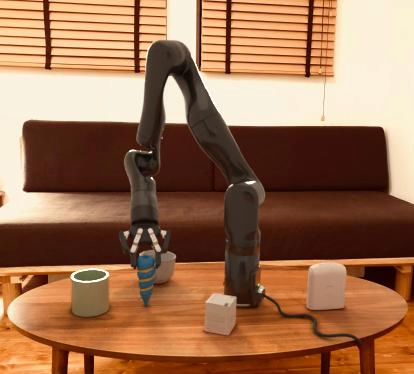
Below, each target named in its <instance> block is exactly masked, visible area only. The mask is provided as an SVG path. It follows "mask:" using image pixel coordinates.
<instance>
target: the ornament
mask: <svg viewBox="0 0 414 374" xmlns="http://www.w3.org/2000/svg"><path fill="white" fill-rule="evenodd" d="M136 270H137V271H136V275H137V278H138V286H139V296H140V297H141V301H142V302H143V305H144V307H148V306H149V303H150V299H151V297H152V294H153V292H154V284H155V283H154V281H155V272H156V268H155V259H154V257H152V256H149V255H147V253H144V255H142V256H138V257H137V258H136Z"/></svg>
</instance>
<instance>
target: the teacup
mask: <svg viewBox="0 0 414 374" xmlns="http://www.w3.org/2000/svg"><path fill="white" fill-rule="evenodd" d="M144 253H147V255H149V256H152V257H154V259H155V252H154V250H153V249H149V250H144V251H142V252H140V253H139V256H138V257H140V256H142V255H144ZM176 258H177V255H176V254H175V253H173V252H171V251H168V250H167V253H166V254H164V253H163V254H161V266H159V267H158V269H156V272H155V281H154V283H153V284H164V283H166V282H168V281H169V280H170V279H172V277H173V276H174V274H175V268H176V260H177V259H176Z"/></svg>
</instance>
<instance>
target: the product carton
mask: <svg viewBox="0 0 414 374" xmlns="http://www.w3.org/2000/svg"><path fill="white" fill-rule="evenodd" d="M236 298H237V297H234V296H228V295H224V294H223V293H222V294H221V293H217V292H213V293H212V294H211V295H210V297H209V298H207V300H206V301H205V302H204V328H203V329H204V332H207V333H212V334H218V335H222V336H229V335H230V334H231V332H232V331H233V329H234V328H235V326H236V321H237V319H236V318H237V307H236Z"/></svg>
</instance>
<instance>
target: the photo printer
mask: <svg viewBox="0 0 414 374" xmlns="http://www.w3.org/2000/svg"><path fill="white" fill-rule="evenodd" d="M346 289H347V269H346V266H344V264H342V263H339V262H331V261H326V262H319V263H315V264H313V265H310V266H309V267H308V272H307V288H306V308H307V309H308V310H309V311H323V310H324V311H325V310H338V309H345V301H346Z"/></svg>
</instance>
